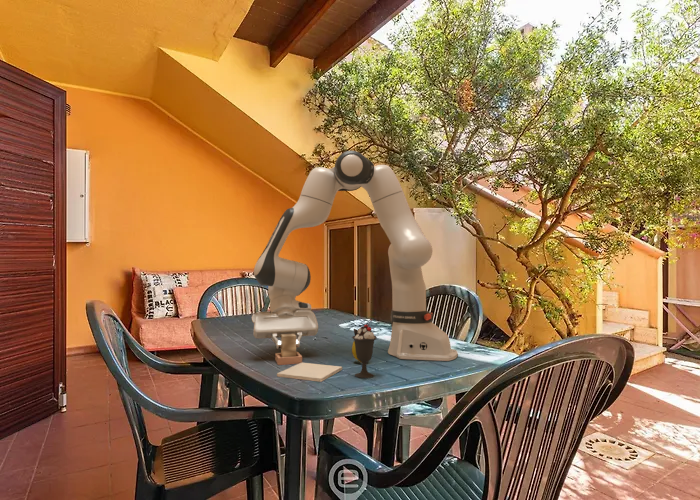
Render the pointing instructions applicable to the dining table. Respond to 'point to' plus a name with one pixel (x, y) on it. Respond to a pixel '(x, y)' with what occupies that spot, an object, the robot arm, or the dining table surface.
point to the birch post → (288, 345)
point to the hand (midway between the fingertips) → (288, 346)
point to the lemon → (355, 352)
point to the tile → (310, 372)
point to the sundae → (364, 348)
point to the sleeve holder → (288, 359)
